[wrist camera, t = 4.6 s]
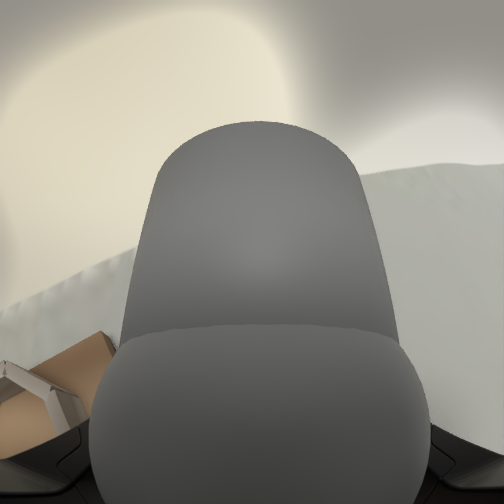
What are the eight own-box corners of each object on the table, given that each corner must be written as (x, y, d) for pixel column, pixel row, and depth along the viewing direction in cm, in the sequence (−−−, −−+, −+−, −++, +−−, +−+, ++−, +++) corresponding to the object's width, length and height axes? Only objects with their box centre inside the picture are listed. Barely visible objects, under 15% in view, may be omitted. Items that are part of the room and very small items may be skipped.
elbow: (304, 480, 12) (495, 586, 1) (200, 480, 12) (23, 597, 1) (300, 350, 16) (408, 119, 5) (204, 350, 16) (110, 115, 4)
